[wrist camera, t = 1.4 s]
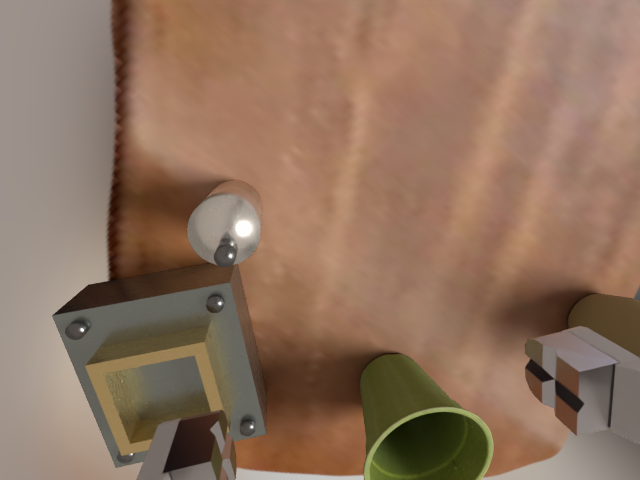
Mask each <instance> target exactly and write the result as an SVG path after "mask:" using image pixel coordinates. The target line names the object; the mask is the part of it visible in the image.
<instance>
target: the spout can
mask: <svg viewBox="0 0 640 480" xmlns="http://www.w3.org/2000/svg"><path fill="white" fill-rule="evenodd" d="M261 220H262V201H261V198H260V195H259V194H258V192H257V191H256V190H255V189H254V188H253V187H252V186H251V185H249V184H248V183H245V182H243V181H238V180H230V181H226V182H223V183H221V184H219V185H218V186H217V187H216V188H215V189H214V190H213V191H212V192H211V193H210V194H209V195H208V196H207V197H206V198H205V199H204V200H203V201H202V202H201V203H200V204H199V206H198V207H197V208H196V209H195V210H194V211H193V213H192V214H191V216H190V218H189V221H188V226H187V234H188V239H189V242H190V244H191V246H192V248H193V249H194V251H195V252H196V253H197V254H198V255H199V256H200V257H201V258H203V259H204V260H206V261H208V262H210V263H212V264H216V265H218V266H220V267H230V266H231V265H234V264H238V263H240V262H242V261H244V260H246V259H247V258H248V257H249V256H251V255H252V253H253V252H254V251H255V249H256V248H257V245H258V243H259V239H260V231H261Z"/></svg>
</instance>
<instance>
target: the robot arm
mask: <svg viewBox="0 0 640 480" xmlns="http://www.w3.org/2000/svg"><path fill="white" fill-rule="evenodd" d="M525 354H526V355H527V356H528V357H529V358H530V360H529V362H528V364H527V365H526V367H525V374H526V380H527V383H528V386H529V388H530V390H531V391H532V393H533V394H534V396H535V397H536V398H537V399H538V400H539V401H540V402H541V403H542V404H545V405H547V406H550V407H552V408H554V410H555V416H556V417H557V418H558V419H559V420H560V421H561V422H562V423H563V424H564V425H565V426H566V427H567V428H569V429H570V430H571V431H572V432H573V433H574V434H575V435H576V436H580V435H584V434H589V433H593V432H598V431H602V430H607V429H610V431H612V432H614V433H616V434H618V435H620V436H622V437H624V438H627V439H628V440H631V441H633V442H635V443H637V444H639V445H640V358H639V357H638V356H636V355H634V354H632V353H631V352H629V351H627V350H625V349H624V348H622V347H620V346H618V345H617V344H615V343H613V342H611V341H610V340H608V339H606V338H605V337H603V336H601V335H599V334H598V333H596V332H594V331H592V330H591V329H589V328H587V327H582V326H578V327H574V328H570V329H567V330H563V331H561V332H557V333H553V334H549V335H544V336H540V337H536V338H532V339H528V340H527V342H526V344H525ZM227 426H228V421H227V418H226V415H225V412H224V411H223V410H217V411H213V412H208V413H203V414H198V415H193V416H188V417H184V418H182V419H181V418H180V419H175V420H171V421H166V422H162V423H161V424H160V425H159V426H158V427H157V429H156V432H155V434H154V437H153V439H152V442H151V444H150V447H149V449H148V452H147V454H146V457H145V459H144V462H143V465H142V467H141V470H140V472H139V475H138V477H137V480H235V479H236V453H235V447H234V442H233V439H232V437H231V436H230V435H228V434H227Z"/></svg>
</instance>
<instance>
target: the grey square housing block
mask: <svg viewBox="0 0 640 480" xmlns="http://www.w3.org/2000/svg"><path fill="white" fill-rule="evenodd" d="M53 319H54V321H55V324H56V326H57V328H58V331H59V333H60V335H61V338H62V340H63V343H64V345H65V347H66V349H67V352H68V354H69V357H70V359H71V362H72V364H73V366H74V369H75V371H76V374H77V376H78V378H79V381H80V383H81V386H82V388H83V390H84V392H85V395H86V398H87V400H88V402H89V405H90V407H91V409H92V412H93V414H94V417H95V419H96V421H97V424H98V426H99V428H100V431H101V433H102V436H103V438H104V440H105V443H106V445H107V448H108V450H109V452H110V455H111V457H112V460H113V462H114V464H115V467H116V468H117V467H122V466H126V465H131V464H135V463H140V462H144V459H145V457H146V454H147V452H148V449H149V447H150V444H151V442H152V439H153V437H154V434H155V432H156V429H157V427H158V426H159V425H160V424H161V423H162V422H166V421H171V420H175V419H180V418H181V419H182V418H184V417H188V416H193V415H198V414H203V413H208V412H213V411H217V410H223V411H224V412H225V415H226V418H227V421H228V426H227V434H228V435H230V436H231V437H232V439H233V442H234V441H238V440H243V439H247V438H252V437H256V436H261V435H265V434H267V390H266V385H265V381H264V377H263V372H262V368H261V364H260V359H259V355H258V350H257V346H256V342H255V337H254V333H253V329H252V324H251V320H250V316H249V311H248V307H247V303H246V298H245V294H244V290H243V285H242V281H241V277H240V272H239V268H238V264H234V265H231V266H230V267H220V266H218V265H216V264H212V263H207V264H201V265H196V266H190V267H185V268H179V269H173V270H168V271H162V272H157V273H151V274H146V275H140V276H135V277H129V278H124V279H118V280H113V281H107V282H102V283H96V284H90V285H88V286H86V287H85V288H84V289H83V290H82V291H80V292H79V293H78V294H77V295H76V296H75V297H74V298H72V299H71V300H70V301H69V302H68V303H66V304H65V305H64V306H63V307H62V308H61V309H59V310H58V311H57V312H56V313H55V314H54V315H53Z"/></svg>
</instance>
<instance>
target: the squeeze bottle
mask: <svg viewBox="0 0 640 480" xmlns="http://www.w3.org/2000/svg"><path fill="white" fill-rule="evenodd" d="M578 326H582V327H587V328H589V329H591V330H592V331H594V332H596V333H598V334H599V335H601V336H603V337H605V338H606V339H608V340H610V341H611V342H613V343H615V344H617V345H618V346H620V347H622V348H624V349H625V350H627V351H629V352H631V353H632V354H634V355H636V356H638V357H639V358H640V301H637V300H635V299H632V298H627V297H620V296H612V295H605V294H591V295H589V296H587V297H584V298H582V299H581V300H580V301H579V302H578V303H577V304H575V305H574V307H573V309H572V310H571V312H570V314H569V318H568V327H569V329H570V328H574V327H578Z"/></svg>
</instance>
